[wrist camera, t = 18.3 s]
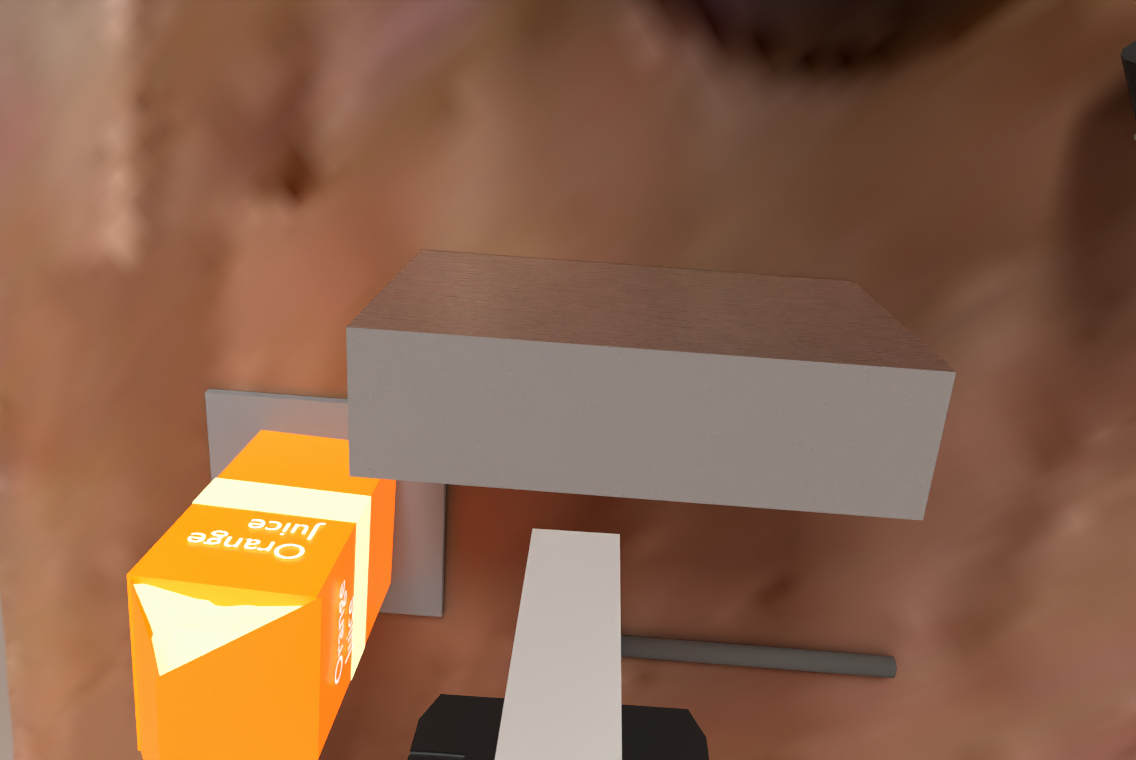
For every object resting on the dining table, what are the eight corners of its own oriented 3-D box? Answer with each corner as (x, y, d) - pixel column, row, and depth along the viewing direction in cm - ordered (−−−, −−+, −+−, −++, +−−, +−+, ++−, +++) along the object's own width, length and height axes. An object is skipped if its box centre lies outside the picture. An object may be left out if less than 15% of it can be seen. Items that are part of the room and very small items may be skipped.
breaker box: (421, 249, 46) (346, 326, 32) (853, 281, 45) (956, 372, 32) (420, 375, 48) (349, 494, 35) (831, 405, 47) (918, 538, 34)
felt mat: (209, 388, 49) (204, 392, 48) (447, 406, 48) (445, 410, 48) (225, 593, 53) (220, 599, 52) (443, 611, 53) (441, 616, 52)
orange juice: (259, 568, 52) (60, 859, 33) (258, 428, 49) (39, 660, 30) (394, 584, 52) (272, 885, 33) (401, 445, 49) (272, 688, 30)
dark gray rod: (620, 630, 53) (620, 643, 52) (891, 652, 53) (897, 665, 51) (618, 647, 53) (618, 660, 52) (887, 668, 53) (893, 682, 52)
